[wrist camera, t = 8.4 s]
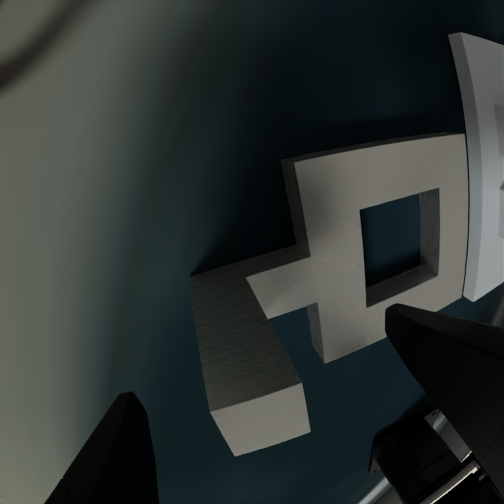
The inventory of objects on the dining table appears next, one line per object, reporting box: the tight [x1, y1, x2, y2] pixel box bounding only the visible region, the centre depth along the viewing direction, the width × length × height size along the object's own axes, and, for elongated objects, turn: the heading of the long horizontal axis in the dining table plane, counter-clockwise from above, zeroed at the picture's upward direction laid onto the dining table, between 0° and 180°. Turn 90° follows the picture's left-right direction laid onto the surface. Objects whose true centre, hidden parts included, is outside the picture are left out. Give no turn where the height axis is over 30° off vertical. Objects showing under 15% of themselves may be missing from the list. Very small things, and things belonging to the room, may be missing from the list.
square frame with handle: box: [189, 132, 468, 456], centre depth 10 cm, size 14×9×7 cm, turn 103°
